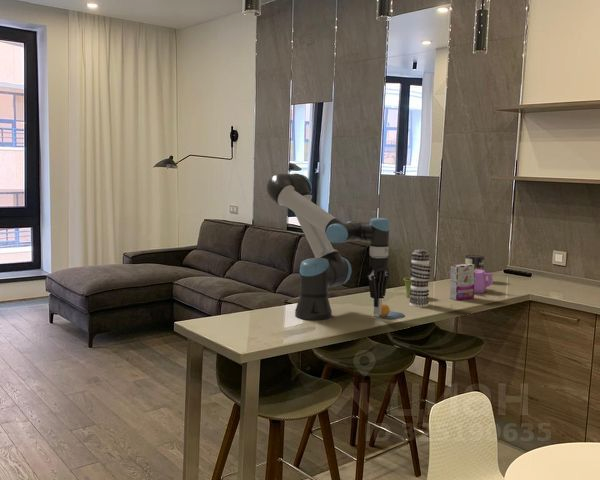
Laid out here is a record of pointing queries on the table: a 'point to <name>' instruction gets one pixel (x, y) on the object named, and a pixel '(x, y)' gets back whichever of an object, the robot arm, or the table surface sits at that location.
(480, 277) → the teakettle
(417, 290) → the decorative candle
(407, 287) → the plant pot
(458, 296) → the candy bar box
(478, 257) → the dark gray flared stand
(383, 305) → the ball
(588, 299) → the table surface
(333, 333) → the table surface
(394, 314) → the disc
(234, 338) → the table surface
